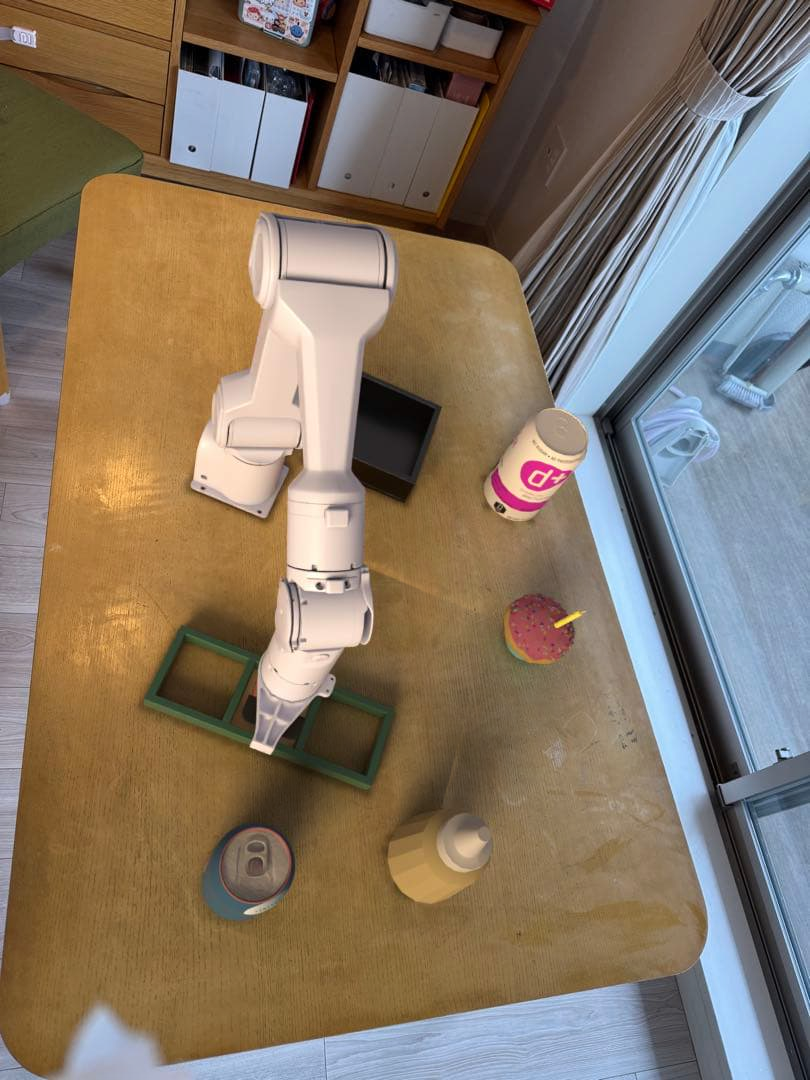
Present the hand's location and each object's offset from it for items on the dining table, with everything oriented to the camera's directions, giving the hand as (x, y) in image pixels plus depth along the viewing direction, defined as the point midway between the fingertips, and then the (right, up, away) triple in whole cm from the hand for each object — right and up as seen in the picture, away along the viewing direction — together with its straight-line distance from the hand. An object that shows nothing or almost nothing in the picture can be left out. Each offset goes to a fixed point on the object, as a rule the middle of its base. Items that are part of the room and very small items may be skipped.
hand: (276, 701), depth 77 cm
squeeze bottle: (+14, -16, 0) cm, 21 cm away
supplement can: (+27, +22, +27) cm, 44 cm away
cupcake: (+27, +4, +16) cm, 32 cm away
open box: (+8, +29, +24) cm, 38 cm away
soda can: (-3, -16, -5) cm, 17 cm away
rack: (-1, -2, +3) cm, 4 cm away
